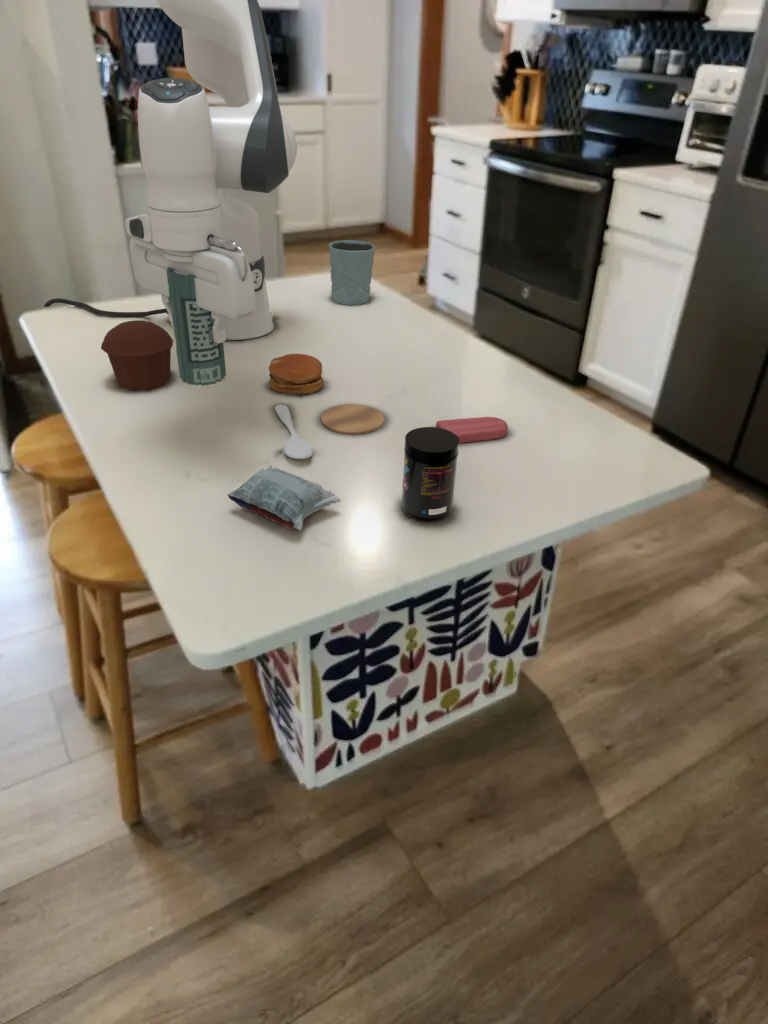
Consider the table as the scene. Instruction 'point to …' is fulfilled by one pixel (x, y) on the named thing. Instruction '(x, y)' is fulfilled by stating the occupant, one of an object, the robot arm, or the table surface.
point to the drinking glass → (351, 271)
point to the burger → (295, 374)
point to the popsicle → (475, 428)
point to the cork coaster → (352, 419)
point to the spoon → (293, 437)
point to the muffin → (139, 354)
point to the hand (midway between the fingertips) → (198, 334)
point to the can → (193, 334)
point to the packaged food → (282, 497)
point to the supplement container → (429, 473)
